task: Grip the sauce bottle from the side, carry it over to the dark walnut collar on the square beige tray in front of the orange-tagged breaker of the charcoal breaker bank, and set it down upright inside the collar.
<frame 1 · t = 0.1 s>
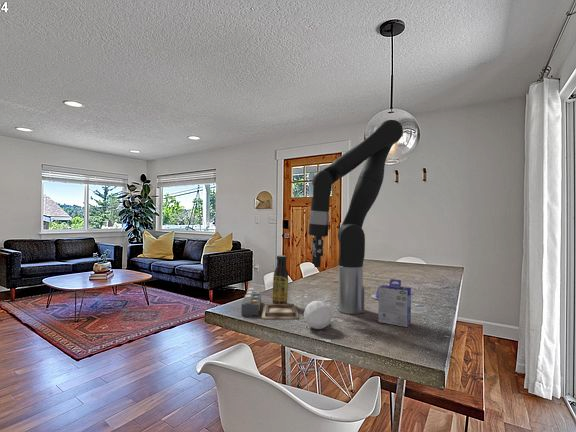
hand: (315, 265, 121), 17 cm above the table, fingers open, 8 cm apart
sauce bottle: (280, 304, 130), on the table
ink cartridge box: (394, 323, 107), on the table
faceted ball with stub: (319, 327, 103), on the table
square beige tray: (280, 313, 117), on the table
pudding: (384, 299, 141), on the table
breaker bank: (252, 308, 123), on the table
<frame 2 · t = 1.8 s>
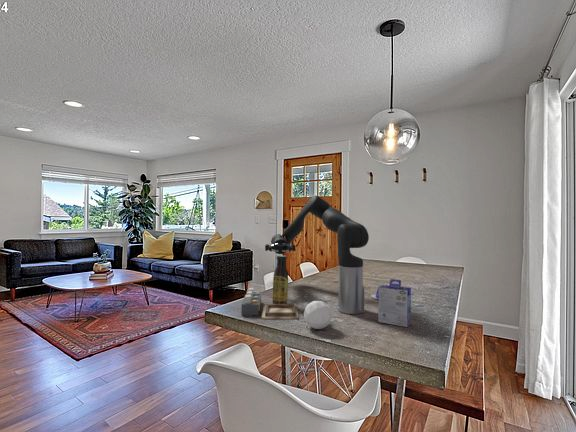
hand: (280, 249, 142), 21 cm above the table, fingers open, 8 cm apart
nothing on the table moved.
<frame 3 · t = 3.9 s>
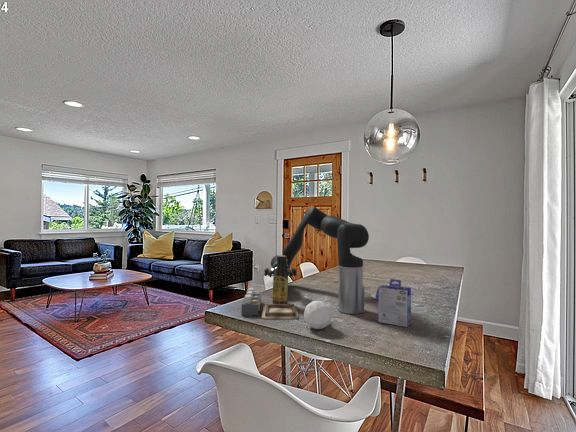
hand: (280, 274, 136), 11 cm above the table, fingers open, 8 cm apart
nothing on the table moved.
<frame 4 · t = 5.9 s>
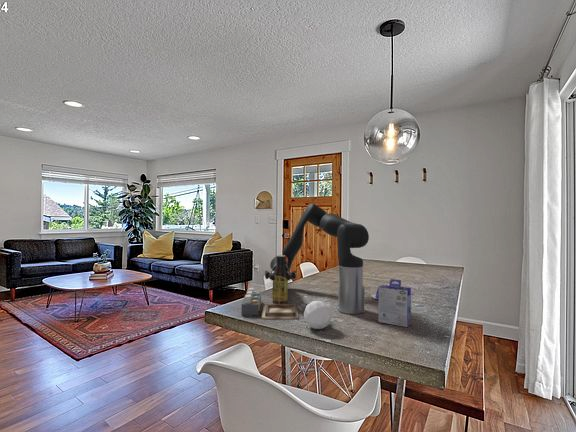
hand: (280, 278, 128), 11 cm above the table, fingers closed on sauce bottle, 6 cm apart
sauce bottle: (280, 304, 130), on the table, touching gripper
everything else where it was.
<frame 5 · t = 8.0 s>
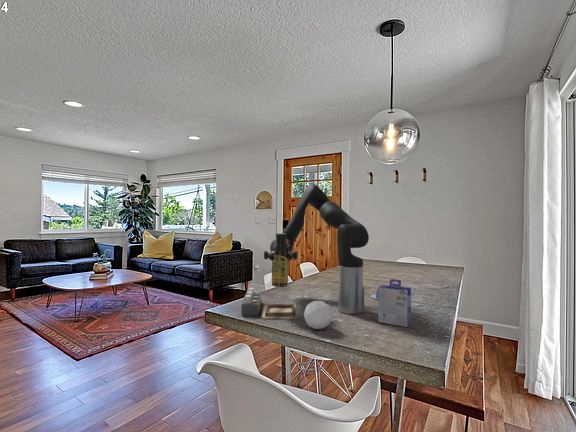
hand: (280, 257, 117), 21 cm above the table, fingers closed on sauce bottle, 6 cm apart
sauce bottle: (280, 286, 119), point 10 cm above the table, touching gripper
everything else where it was.
when the fingers open (13 cm above the table, at t = 10.6 s): sauce bottle stays where it is, resting on square beige tray.
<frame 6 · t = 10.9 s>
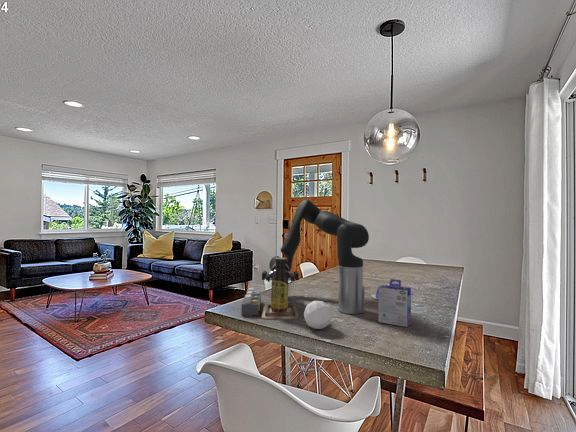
hand: (280, 279, 115), 13 cm above the table, fingers open, 8 cm apart
sauce bottle: (279, 311, 117), point 1 cm above the table, touching square beige tray
everything else where it was.
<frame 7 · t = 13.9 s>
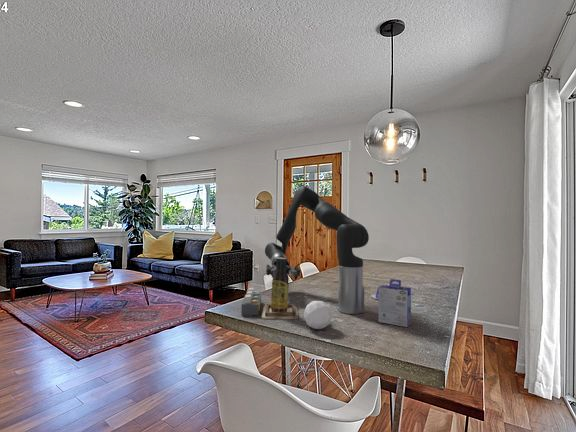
hand: (285, 277, 128), 11 cm above the table, fingers open, 8 cm apart
nothing on the table moved.
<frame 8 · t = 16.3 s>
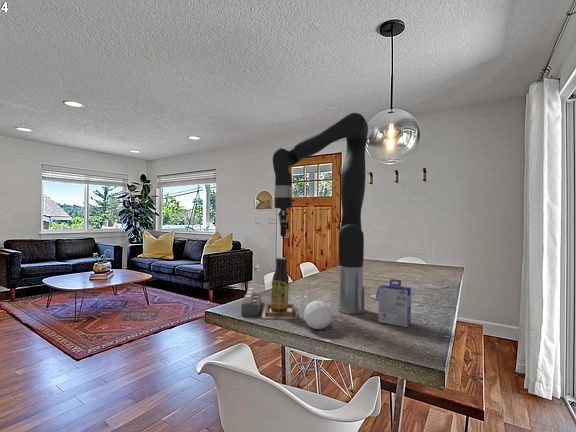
hand: (283, 235, 133), 28 cm above the table, fingers open, 8 cm apart
nothing on the table moved.
at the end: sauce bottle 0.3 cm off-centre on the square beige tray, point 0.4 cm above the square beige tray's base; sauce bottle tilted 0°; the gripper is holding nothing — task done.
